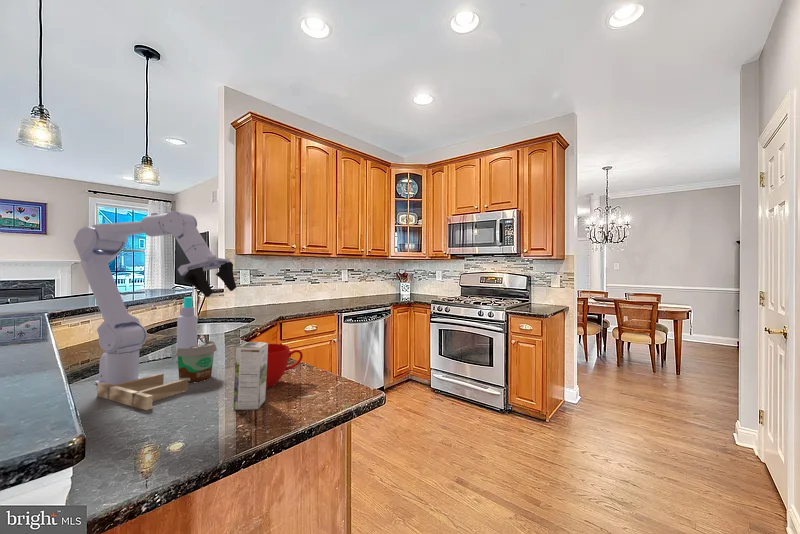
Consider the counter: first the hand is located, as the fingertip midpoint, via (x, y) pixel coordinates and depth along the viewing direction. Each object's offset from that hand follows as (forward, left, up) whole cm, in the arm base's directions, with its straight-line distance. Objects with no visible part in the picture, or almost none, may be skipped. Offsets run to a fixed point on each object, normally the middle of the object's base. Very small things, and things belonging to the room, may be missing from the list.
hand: (222, 292), depth 94 cm
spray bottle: (-37, +16, -26) cm, 48 cm away
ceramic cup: (+7, +11, -26) cm, 29 cm away
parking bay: (-13, -10, -26) cm, 31 cm away
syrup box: (+15, -4, -26) cm, 31 cm away
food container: (-13, +4, -26) cm, 29 cm away
